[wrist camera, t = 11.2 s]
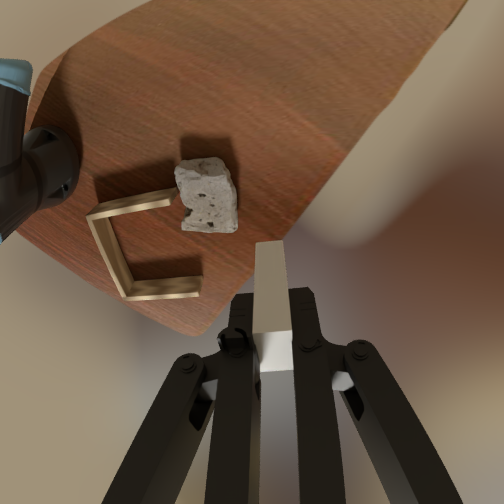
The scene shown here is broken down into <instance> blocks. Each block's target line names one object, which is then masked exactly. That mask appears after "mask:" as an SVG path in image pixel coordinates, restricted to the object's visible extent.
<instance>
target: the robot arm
mask: <svg viewBox="0 0 504 504" xmlns="http://www.w3.org/2000/svg"><path fill="white" fill-rule="evenodd" d="M32 73H33V69H32V65H31V64H30V63H29V62H28V61H26V60H18V59H2V58H1V59H0V244H1V243H2V242H3V241H4V240H5V239H6V238H7V237H8V236H9V235H10V234H11V233H12V232H13V231H14V230H15V229H16V228H18V227H19V226H20V225H21V224H22V223H23V222H24V221H25V220H26V219H28V218H29V217H30V216H31V215H32V214H33V213H35V212H36V211H38V210H42V209H46V208H50V207H54V206H57V205H59V204H61V203H62V202H63V201H65V200H66V199H67V198H68V197H69V196H70V195H71V194H72V193H73V192H74V190H75V188H76V186H77V183H78V179H79V159H78V154H77V151H76V148H75V146H74V144H73V142H72V140H71V139H70V137H69V136H68V135H67V134H66V133H65V132H64V131H63V130H62V129H60V128H58V127H56V126H53V125H42V126H39V127H37V128H34V129H32V130H30V131H29V132H28V133H26V134H25V135H24V128H25V120H26V112H27V106H28V99H29V96H30V94H31V92H30V85H31V79H32ZM254 281H255V282H254V293H244V294H236V295H235V297H234V298H233V300H232V301H231V307H230V315H229V323H228V327H227V328H225V329H223V330H222V331H221V332H220V333H219V334H218V337H217V341H218V344H219V346H220V349H221V350H220V351H219V352H217V353H215V354H213V355H210V356H206V357H203V358H201V357H200V356H199V355H197V354H194V353H193V354H192V353H188V354H184V355H182V356H180V357H179V358H177V360H176V361H175V362H174V364H173V366H172V368H171V370H170V371H169V373H168V375H167V377H166V379H165V381H164V383H163V385H162V386H161V388H160V390H159V392H158V394H157V396H156V398H155V400H154V402H153V404H152V406H151V407H150V409H149V411H148V413H147V415H146V417H145V419H144V421H143V423H142V425H141V427H140V429H139V430H138V432H137V434H136V436H135V438H134V440H133V442H132V444H131V446H130V448H129V450H128V452H127V454H126V456H125V458H124V460H123V462H122V464H121V466H120V468H119V469H118V471H117V473H116V475H115V477H114V480H113V481H112V483H111V485H110V487H109V489H108V491H107V493H106V495H105V497H104V499H103V501H102V503H101V504H175V501H176V499H177V497H178V494H179V492H180V490H181V487H182V485H183V483H184V480H185V478H186V476H187V473H188V471H189V469H190V466H191V464H192V461H193V459H194V457H195V454H196V452H197V449H198V447H199V445H200V442H201V440H202V437H203V435H204V432H205V430H206V427H207V425H208V423H209V420H210V417H211V415H212V413H213V410H214V416H213V425H212V433H211V443H210V452H209V462H208V471H207V480H206V491H205V501H204V504H259V477H260V423H261V421H260V420H261V418H260V417H261V380H260V371H261V372H266V371H281V370H293V372H294V388H295V403H296V423H297V445H298V471H299V504H346V499H345V487H344V476H343V466H342V457H341V448H340V439H339V431H338V424H337V416H336V409H335V402H334V395H333V390H339V392H340V394H341V396H342V398H343V401H344V403H345V405H346V407H347V409H348V411H349V413H350V416H351V418H352V420H353V422H354V424H355V426H356V428H357V431H358V433H359V435H360V437H361V439H362V441H363V443H364V446H365V448H366V450H367V452H368V455H369V457H370V459H371V461H372V463H373V465H374V468H375V470H376V472H377V474H378V477H379V479H380V481H381V483H382V485H383V488H384V490H385V492H386V494H387V497H388V499H389V501H390V504H463V502H462V500H461V498H460V496H459V494H458V492H457V490H456V488H455V486H454V484H453V482H452V480H451V478H450V476H449V474H448V472H447V470H446V468H445V466H444V464H443V462H442V460H441V458H440V457H439V455H438V453H437V451H436V449H435V448H434V446H433V444H432V442H431V440H430V438H429V436H428V435H427V433H426V431H425V429H424V428H423V426H422V424H421V422H420V421H419V419H418V417H417V415H416V414H415V412H414V410H413V409H412V407H411V405H410V403H409V402H408V400H407V398H406V397H405V395H404V394H403V392H402V390H401V388H400V387H399V385H398V383H397V382H396V380H395V378H394V377H393V375H392V374H391V372H390V370H389V369H388V367H387V365H386V364H385V362H384V361H383V359H382V357H381V356H380V355H379V353H378V351H377V350H376V348H375V347H374V346H373V345H372V344H371V343H370V342H368V341H366V340H354V341H352V342H350V343H348V345H347V346H342V345H336V344H332V343H330V342H328V341H327V340H326V339H325V338H324V337H323V336H322V333H321V329H320V324H319V318H318V313H317V308H316V303H315V297H314V293H313V292H312V291H311V290H310V289H309V288H308V287H303V288H293V289H288V285H287V275H286V265H285V256H284V248H283V240H279V241H269V242H259V243H256V253H255V280H254Z"/></svg>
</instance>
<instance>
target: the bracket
mask: <svg viewBox="0 0 504 504" xmlns="http://www.w3.org/2000/svg"><path fill="white" fill-rule="evenodd" d="M178 193H179V192H178V189H177V187H175V188H169V189H164V190H159V191H154V192H149V193H144V194H139V195H134V196H130V197H125V198H121V199H116V200H112V201H108V202H103V203H99V204H98V205H97V206H95V207H94V208H93V209H92V210H91V211H90V212H89V213H88V214H87V215H86V219H87V221H88V224H89V226H90V229H91V231H92V233H93V236H94V238H95V241H96V243H97V245H98V248H99V250H100V252H101V254H102V256H103V259H104V261H105V263H106V265H107V267H108V269H109V272H110V274H111V276H112V278H113V280H114V282H115V284H116V286H117V288H118V290H119V292H120V294H121V296H122V298H123V300H124V301H134V300H153V299H170V298H185V297H199V295H200V291H201V287H202V283H203V276H202V275H199V276H188V277H177V278H166V279H154V280H142V281H134V279H133V277H132V274H131V272H130V270H129V268H128V265H127V263H126V261H125V258H124V256H123V254H122V251H121V249H120V247H119V244H118V242H117V239H116V237H115V234H114V232H113V229H112V226H111V224H110V221H109V219H108V217H109V216H114V215H119V214H124V213H129V212H135V211H140V210H145V209H151V208H156V207H162V206H168V205H171V203H172V202H173V200H174V199H175V197H176V196H177V194H178Z"/></svg>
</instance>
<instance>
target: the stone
mask: <svg viewBox="0 0 504 504" xmlns="http://www.w3.org/2000/svg"><path fill="white" fill-rule="evenodd" d="M174 174H175V179H176V183H177V186H178V188H179V190H180V192H181V193H180V196H181V199H182V201H183V204H184V205H185V206H187V207H186V210H185V215H184V218H183V220H182V230H187V231H202V232H207V233H212V232H222V233H226V232H227V233H233V232H234V231H236V230H237V228H238V215H237V194H236V188H235V186H234V185H233V183H232V180H231V178H230V176H231V174H230V172H229V170H228V169H227V168H226V167H225V164H224V162H223V160H221V159H220V158H217V157H211V158H203V159H193V160H183V161H181V163H180V164H179V165H177V166H176V168H175V171H174Z"/></svg>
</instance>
